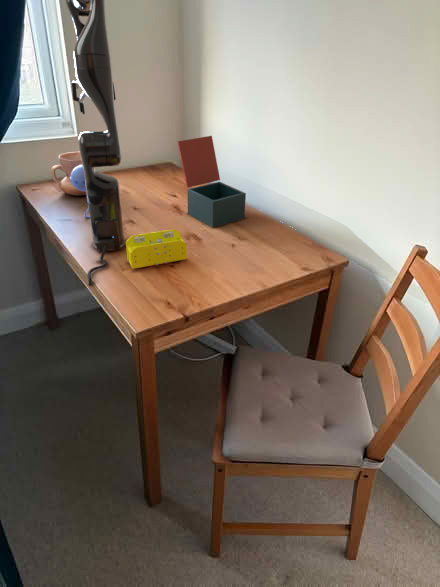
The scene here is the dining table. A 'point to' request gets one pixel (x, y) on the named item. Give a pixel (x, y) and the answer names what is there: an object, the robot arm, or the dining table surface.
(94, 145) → the robot arm
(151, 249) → the yellow toy chassis
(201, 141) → the sorter lid
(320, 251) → the dining table surface
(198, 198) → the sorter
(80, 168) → the baby rattle
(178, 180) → the dining table surface
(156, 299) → the dining table surface
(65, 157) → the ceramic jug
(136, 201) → the dining table surface
